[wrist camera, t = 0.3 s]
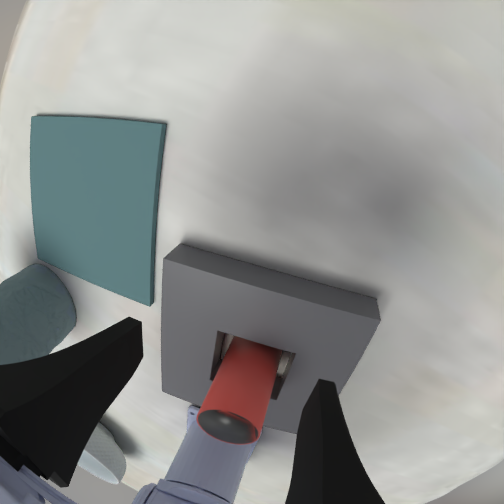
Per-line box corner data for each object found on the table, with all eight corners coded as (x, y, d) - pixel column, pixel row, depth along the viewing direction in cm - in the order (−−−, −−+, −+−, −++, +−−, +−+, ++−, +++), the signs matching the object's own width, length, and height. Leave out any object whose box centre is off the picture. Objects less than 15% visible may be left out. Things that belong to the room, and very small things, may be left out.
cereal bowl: (43, 378, 39) (19, 404, 32) (120, 416, 35) (96, 452, 29) (77, 433, 46) (60, 457, 39) (147, 466, 42) (131, 495, 36)
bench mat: (153, 302, 24) (150, 306, 24) (41, 255, 26) (37, 258, 25) (166, 124, 18) (161, 124, 17) (36, 115, 20) (31, 116, 19)
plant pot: (86, 294, 26) (2, 371, 16) (78, 351, 31) (19, 417, 20) (23, 240, 26) (-60, 292, 15) (23, 302, 31) (-39, 354, 20)
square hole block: (313, 416, 26) (310, 439, 23) (172, 373, 27) (160, 393, 25) (376, 298, 19) (381, 323, 17) (180, 243, 21) (161, 260, 19)
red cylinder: (275, 370, 24) (252, 450, 17) (229, 356, 25) (194, 431, 18) (287, 335, 22) (266, 421, 15) (236, 320, 23) (198, 400, 16)
